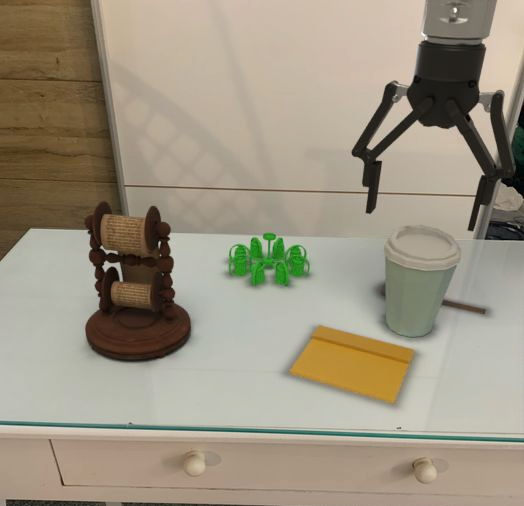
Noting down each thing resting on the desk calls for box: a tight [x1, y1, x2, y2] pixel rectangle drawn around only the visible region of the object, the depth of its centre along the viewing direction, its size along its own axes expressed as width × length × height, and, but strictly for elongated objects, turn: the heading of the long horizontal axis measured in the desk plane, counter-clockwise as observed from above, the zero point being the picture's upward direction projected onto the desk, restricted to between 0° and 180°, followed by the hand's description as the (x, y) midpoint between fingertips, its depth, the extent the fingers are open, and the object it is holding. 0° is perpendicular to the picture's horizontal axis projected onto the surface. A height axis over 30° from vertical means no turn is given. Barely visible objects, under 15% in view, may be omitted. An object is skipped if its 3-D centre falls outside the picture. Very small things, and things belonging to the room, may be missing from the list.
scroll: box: [83, 200, 192, 360], centre depth 75 cm, size 15×15×20 cm
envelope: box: [289, 324, 415, 405], centre depth 76 cm, size 14×12×2 cm
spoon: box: [380, 282, 487, 315], centre depth 91 cm, size 17×6×1 cm, turn 66°
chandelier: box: [228, 232, 311, 287], centre depth 97 cm, size 15×15×7 cm
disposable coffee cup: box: [382, 224, 462, 338], centre depth 80 cm, size 11×11×15 cm
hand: (419, 219), depth 75 cm, fingers open, 13 cm apart
